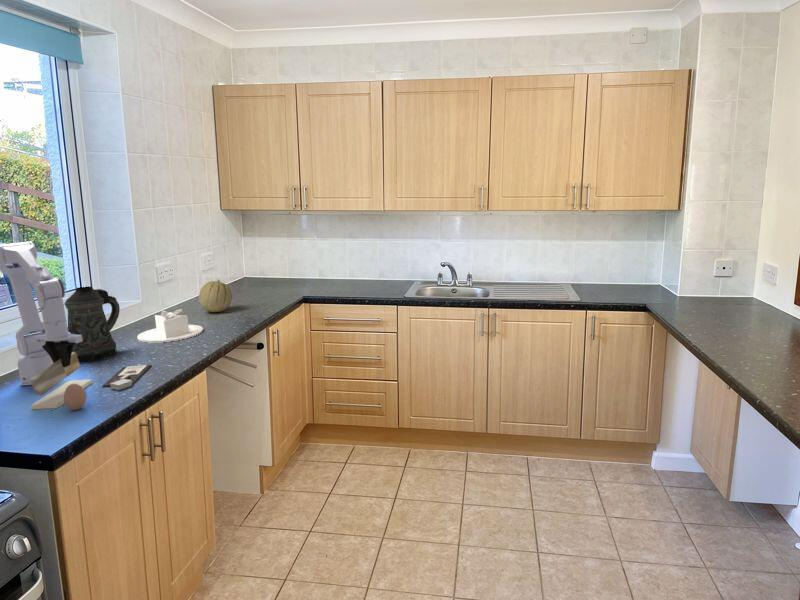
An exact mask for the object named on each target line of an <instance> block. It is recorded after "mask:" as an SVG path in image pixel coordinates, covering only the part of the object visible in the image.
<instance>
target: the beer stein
mask: <svg viewBox="0 0 800 600" xmlns="http://www.w3.org/2000/svg"><path fill="white" fill-rule="evenodd" d="M107 304H110V306H111V311H110V315H109V317H108V319H107V317H106V314H105V312H104V311H105V310H104V308H103V307H104V306H103V305H107ZM64 307H65V309H67V327H68V332H70V334H76V335H82V340H83V341H82V342H79V343H75V345H74V347H73V350H72V352H76V355H77V358H78V361H79V364H82V363H81V362H86V363H92V362H91V361H93V362H96V361H97V360H98V361H102V360H105V359H107V357H109V358H111V357H112V355H113V356H114V355H116V353H117V351H116V350H117V343H116V342H115V340H114V338H113V336H112V334H111V331H112V329H113V327H114V326H115V324H116V323H117V320H118V318H119V316H120V308H121V307H120V304H119V302H118V300H117V298H116V297H114V296H112V295H109V293H108V291H107V290H104V289H102V288H99V289H98V288H97V289H95V288H93V287H92V286H81V287H77V288H76V289H75V291H74V292H73V293H72V294H71V295H70V296H69V297H68V298H67V299H66V300H65V302H64ZM110 356H111V357H110ZM104 358H105V359H104ZM101 359H102V360H101ZM98 361H97V362H98Z"/></svg>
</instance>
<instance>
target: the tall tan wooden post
mask: <svg viewBox="0 0 800 600" xmlns="http://www.w3.org/2000/svg"><path fill="white" fill-rule="evenodd" d="M79 368H81V363H79V361H78V358H77V355H76V352H72V354H71V360H70V365H69V366H67V367H63V365H62V362H61V359H59V360H58V361H56V362H55V363H53V364H52V365H50V366H49V367H48V368H46V369H45V370H43V371H42V372H40V373H39V374H37V375H36V376H34V377H33V378H31V379H30V381H31V384H32V385H31V386H32V388H33V391H34V394H35V396H42V395H44V394H46V393H47V392H49V391H50V390H51V389H53V388H54V387H56V385H58V384H59V383H61V382H62V381H64V380H65V379H66V378H67V377H69V376H70V375H72V374H74V372H76V371H77V370H78V369H79Z"/></svg>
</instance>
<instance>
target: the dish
mask: <svg viewBox="0 0 800 600" xmlns="http://www.w3.org/2000/svg"><path fill="white" fill-rule="evenodd" d="M182 312H183V309H181V308H179V309H176V310H174V312H172V311H171V312H168V311H167V310H161V314H160V315H159V314H155V315H154V322H155V328H151V329H148V330H145V331H142V332H140V333H139V334H137V336H136V337H137V341H138V340H139V341H138V342H140V341H142V342H148V343H147V344H164V343H163V342H167V343H172V342H171V341H175V342H179V341H178V340H180V341H183V340H182V339H185V340H188V339H187V338H189V339H191V338H190V337H192V338H194V337H193V336H195V337H196V335H197V336H199V335H201V334H202V333H203V332H204V328H203V327H202V325H197V324H189V319H188V315H185V314H184V315H183V314H182V315H179V314H180V313H182ZM202 331H203V332H202ZM201 332H202V333H201ZM200 333H201V334H200ZM198 334H199V335H198ZM142 342H141V343H142Z"/></svg>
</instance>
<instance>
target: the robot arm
mask: <svg viewBox="0 0 800 600" xmlns="http://www.w3.org/2000/svg"><path fill="white" fill-rule="evenodd" d="M37 257H38V251H37V247H36V245H35V243H33V242H32V240H31V241H30V240H29V241H28V240H27V241H25V242H24V241H23V242H13V243H3V244H0V273H2V274H4V275H7V277H8V279H9V282H10V285H11V288H12V291H13V295H14V298H15V302H16V304H17V308H18V311H19V315H20V318H21V322H22V324H23V325H22V326H21V327H20V328H19V329H18V330H17V332H16V333H15V339H16V346H17V350H18V352H19V354H20V357H19V358H18V360H17V368H18V375H19V379H20V383H19V385H20V386H32V384H31V381H30V379H31V378H33V377H34V376H36V375H37V374H39V373H40V372H42V371H43V370H45V369H46V368H48V367H49V366H50V365H52V364H53V363H55V362H56V361H58V360H59V359H61V362H62V365H63V367H67V366H69V365H70V360H71V354H72V350H73V347H74V345H75V343H79V342H82V341H83V340H82V335H76V334H70V332H68V321H67V316H66V311H65V303H64V300H63V298H65V295H66V292H65V290H66V289H65V286H64V283H63V281H62V279H61V278H59V277H54V276H53V275H52V274H51V272H50V271H49V270H48V269H47V268H46V267H45V266H44V265H41V264H39V262H38V261H37ZM30 284H31V285H30ZM31 286H32V287H31ZM32 288H33V291H34V292H33V291H32ZM35 298H36V300H35ZM36 301H37V304H36ZM37 305H38V307H39V308H40V311H41V317H42V321H41V317H40V315H39V311H38V308H37Z"/></svg>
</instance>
